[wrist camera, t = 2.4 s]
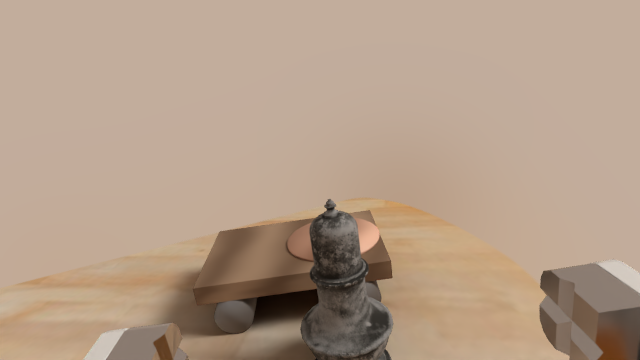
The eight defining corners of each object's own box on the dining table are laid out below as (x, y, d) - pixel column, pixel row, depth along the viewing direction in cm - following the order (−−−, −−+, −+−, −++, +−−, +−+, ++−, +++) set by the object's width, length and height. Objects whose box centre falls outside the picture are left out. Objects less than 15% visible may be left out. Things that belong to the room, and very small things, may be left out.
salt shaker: (298, 352, 28) (268, 196, 25) (372, 326, 30) (355, 175, 26) (325, 419, 23) (293, 231, 19) (414, 382, 24) (401, 202, 21)
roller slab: (206, 337, 31) (192, 286, 30) (229, 271, 41) (219, 229, 39) (395, 311, 31) (390, 258, 30) (374, 250, 41) (369, 208, 39)
